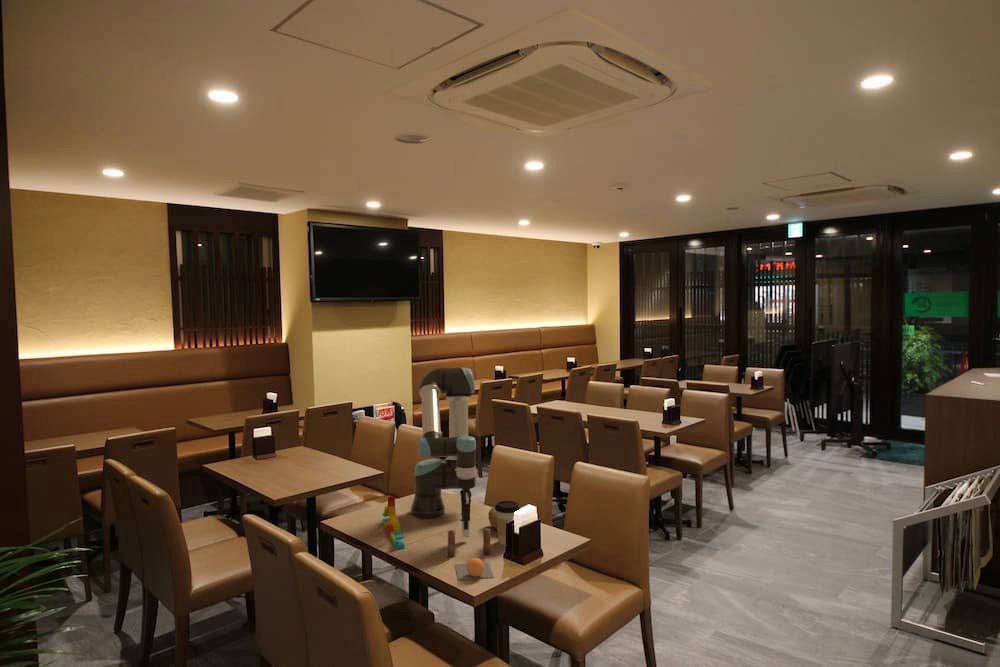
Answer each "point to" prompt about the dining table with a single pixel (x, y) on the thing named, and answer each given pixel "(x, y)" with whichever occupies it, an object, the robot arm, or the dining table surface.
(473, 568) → the ball
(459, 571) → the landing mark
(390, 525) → the colorful toy block stack
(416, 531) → the dining table surface
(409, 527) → the dining table surface
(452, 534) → the post
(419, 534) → the dining table surface
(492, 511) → the potato
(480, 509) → the dining table surface
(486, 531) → the post
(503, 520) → the coffee cup
